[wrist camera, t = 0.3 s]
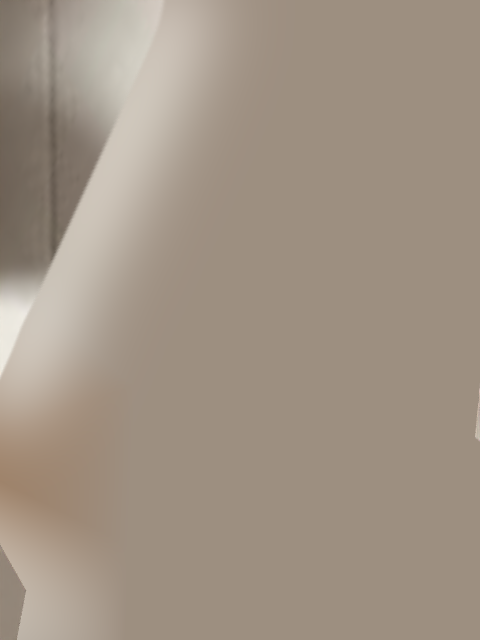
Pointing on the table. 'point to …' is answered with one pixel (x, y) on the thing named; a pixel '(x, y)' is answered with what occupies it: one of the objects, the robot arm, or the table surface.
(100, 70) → the table surface
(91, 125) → the table surface
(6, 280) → the table surface
